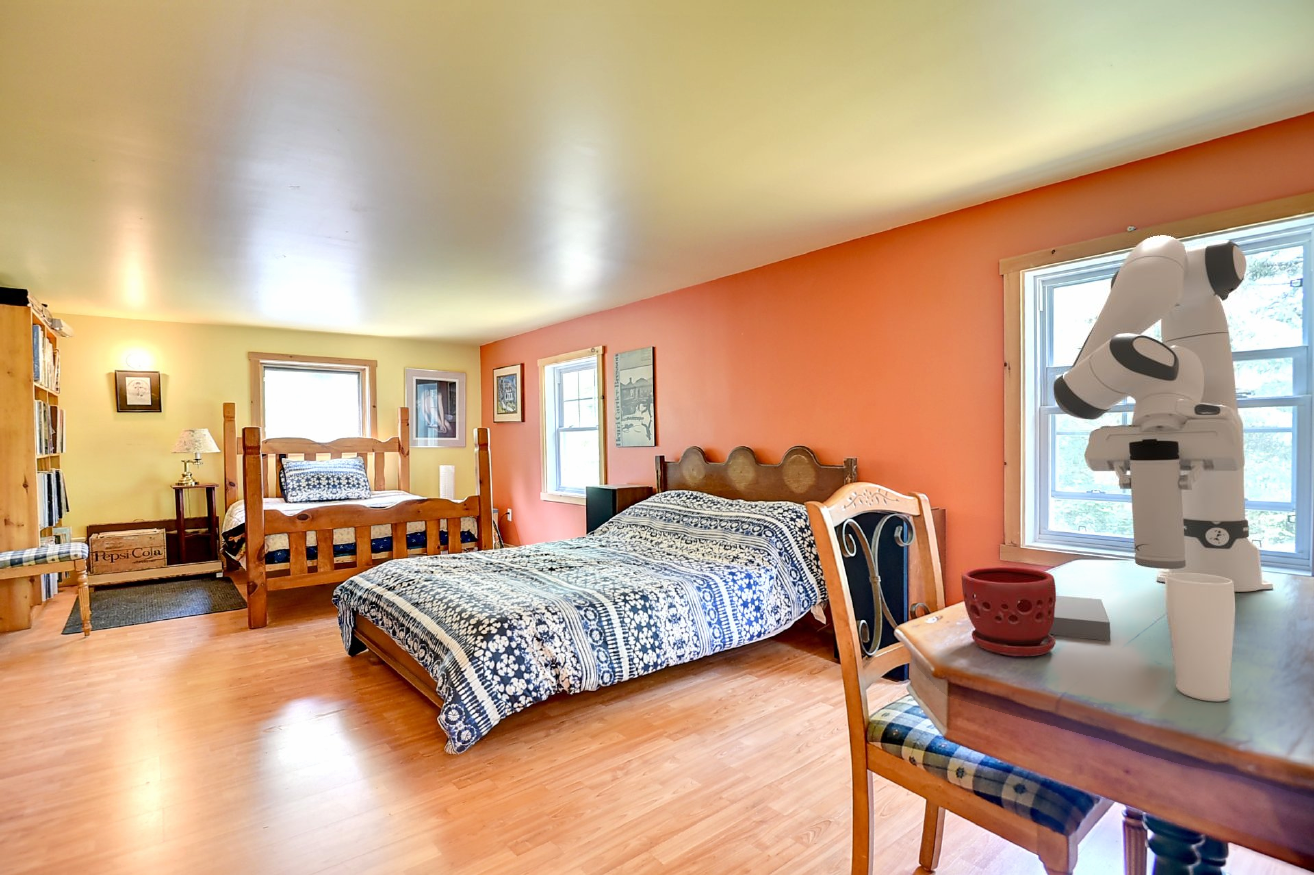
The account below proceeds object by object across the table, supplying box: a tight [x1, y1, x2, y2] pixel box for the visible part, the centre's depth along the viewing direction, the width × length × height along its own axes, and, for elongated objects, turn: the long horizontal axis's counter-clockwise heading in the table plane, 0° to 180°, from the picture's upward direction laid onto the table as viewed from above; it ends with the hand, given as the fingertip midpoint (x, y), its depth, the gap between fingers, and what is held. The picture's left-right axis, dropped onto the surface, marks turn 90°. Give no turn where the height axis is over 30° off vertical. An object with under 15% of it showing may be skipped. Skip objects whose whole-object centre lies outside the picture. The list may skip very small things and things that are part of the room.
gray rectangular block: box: [1018, 595, 1112, 642], centre depth 113 cm, size 16×14×3 cm
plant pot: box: [960, 566, 1057, 658], centre depth 101 cm, size 13×13×12 cm
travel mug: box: [1129, 439, 1186, 570], centre depth 100 cm, size 6×7×20 cm
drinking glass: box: [1164, 573, 1236, 703], centre depth 81 cm, size 7×7×15 cm
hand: (1154, 487), depth 99 cm, fingers closed on travel mug, 6 cm apart
